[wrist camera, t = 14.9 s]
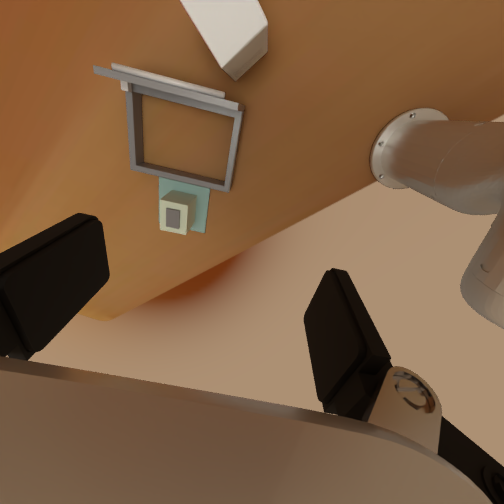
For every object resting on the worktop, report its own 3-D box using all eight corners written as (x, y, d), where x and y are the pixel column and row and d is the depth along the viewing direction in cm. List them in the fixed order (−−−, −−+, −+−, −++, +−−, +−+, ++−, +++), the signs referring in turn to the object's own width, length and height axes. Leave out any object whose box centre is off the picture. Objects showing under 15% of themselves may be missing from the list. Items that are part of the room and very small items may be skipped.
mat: (210, 188, 44) (209, 188, 44) (204, 232, 50) (204, 233, 49) (159, 176, 44) (158, 176, 43) (159, 222, 49) (158, 223, 49)
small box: (200, 26, 32) (166, -19, 21) (235, -12, 30) (217, -86, 19) (235, 83, 36) (221, 70, 24) (269, 52, 33) (270, 21, 22)
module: (196, 195, 45) (187, 206, 39) (194, 222, 48) (185, 236, 43) (171, 189, 45) (158, 200, 39) (171, 217, 48) (158, 230, 42)
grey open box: (245, 100, 36) (239, 95, 28) (230, 188, 44) (222, 205, 36) (134, 70, 35) (92, 56, 27) (138, 166, 43) (107, 179, 34)
